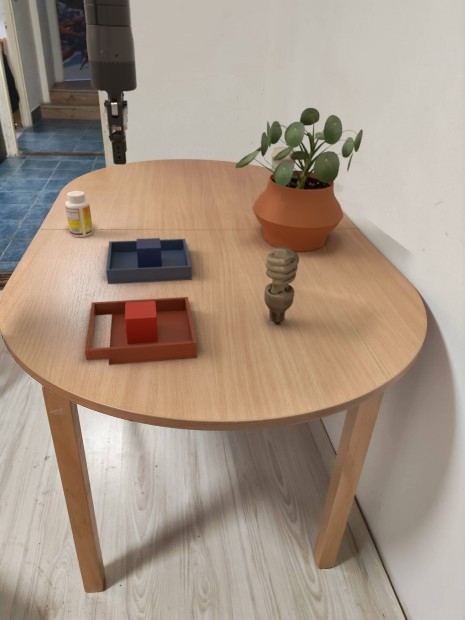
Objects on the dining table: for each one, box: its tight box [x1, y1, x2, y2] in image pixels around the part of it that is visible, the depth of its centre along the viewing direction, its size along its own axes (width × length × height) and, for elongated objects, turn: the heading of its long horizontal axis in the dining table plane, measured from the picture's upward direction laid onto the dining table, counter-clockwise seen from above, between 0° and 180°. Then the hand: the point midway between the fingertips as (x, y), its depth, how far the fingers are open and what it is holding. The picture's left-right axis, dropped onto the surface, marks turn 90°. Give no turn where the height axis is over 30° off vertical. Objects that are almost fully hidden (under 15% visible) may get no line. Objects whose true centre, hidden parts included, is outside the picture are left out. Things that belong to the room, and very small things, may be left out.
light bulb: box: [263, 246, 300, 325], centre depth 79 cm, size 6×6×15 cm
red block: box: [125, 301, 158, 343], centre depth 76 cm, size 5×5×5 cm
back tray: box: [105, 238, 193, 285], centre depth 99 cm, size 17×14×3 cm
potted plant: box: [235, 107, 364, 252], centre depth 107 cm, size 23×28×30 cm
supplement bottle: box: [64, 190, 94, 238], centre depth 110 cm, size 6×6×10 cm
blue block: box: [136, 237, 162, 268], centre depth 98 cm, size 5×5×5 cm
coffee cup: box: [270, 146, 297, 175], centre depth 148 cm, size 8×8×12 cm
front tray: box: [84, 296, 198, 365], centre depth 77 cm, size 17×14×3 cm
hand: (120, 157), depth 84 cm, fingers open, 8 cm apart
